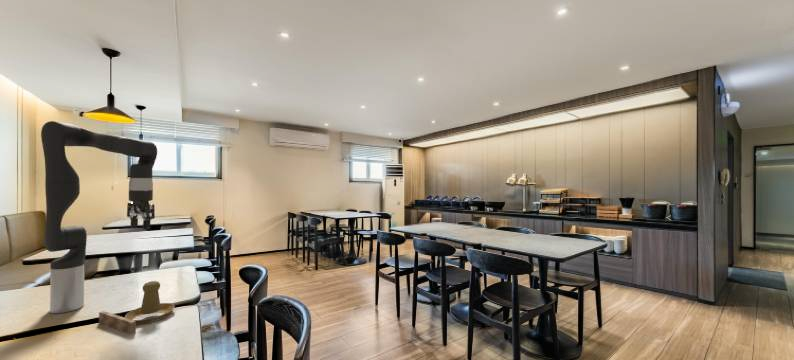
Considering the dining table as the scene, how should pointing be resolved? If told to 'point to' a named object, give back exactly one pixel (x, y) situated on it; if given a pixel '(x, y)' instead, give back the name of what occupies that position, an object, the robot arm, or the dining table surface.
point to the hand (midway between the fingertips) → (140, 228)
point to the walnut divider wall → (117, 322)
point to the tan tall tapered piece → (150, 298)
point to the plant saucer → (165, 309)
